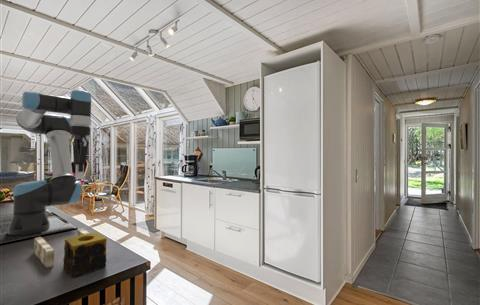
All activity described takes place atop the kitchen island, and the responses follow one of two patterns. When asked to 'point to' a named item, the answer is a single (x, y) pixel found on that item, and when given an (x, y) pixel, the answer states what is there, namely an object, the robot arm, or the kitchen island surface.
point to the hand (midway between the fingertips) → (79, 178)
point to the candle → (84, 254)
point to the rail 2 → (81, 232)
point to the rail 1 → (44, 252)
